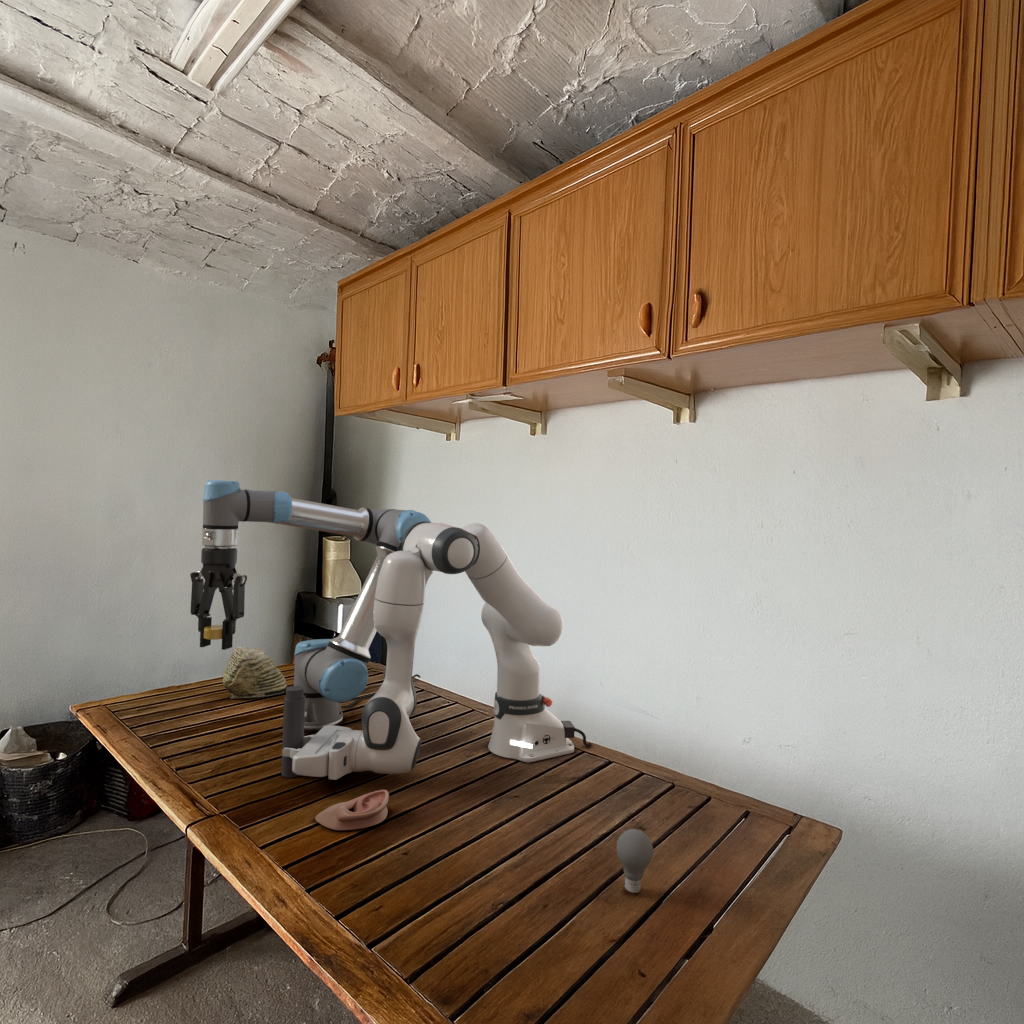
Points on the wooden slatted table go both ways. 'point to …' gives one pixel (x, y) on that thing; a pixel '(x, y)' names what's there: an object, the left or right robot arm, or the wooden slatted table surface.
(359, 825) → the anatomical model
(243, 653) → the fossil
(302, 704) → the dark grey slim bottle
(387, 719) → the right robot arm
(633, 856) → the light bulb
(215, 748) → the wooden slatted table surface
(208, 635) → the lid
